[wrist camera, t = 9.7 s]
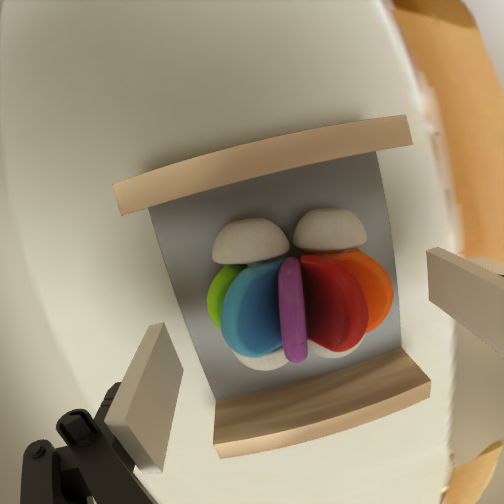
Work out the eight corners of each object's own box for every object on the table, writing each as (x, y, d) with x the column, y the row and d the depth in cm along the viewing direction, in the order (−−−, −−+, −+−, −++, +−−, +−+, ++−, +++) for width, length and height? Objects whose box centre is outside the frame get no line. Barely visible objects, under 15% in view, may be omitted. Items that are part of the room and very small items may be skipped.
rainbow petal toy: (364, 327, 20) (413, 387, 13) (221, 351, 20) (217, 427, 13) (360, 200, 18) (424, 215, 11) (198, 221, 18) (175, 248, 11)
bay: (143, 182, 18) (112, 184, 13) (366, 127, 18) (405, 114, 13) (222, 411, 22) (220, 458, 17) (399, 360, 22) (429, 397, 17)
